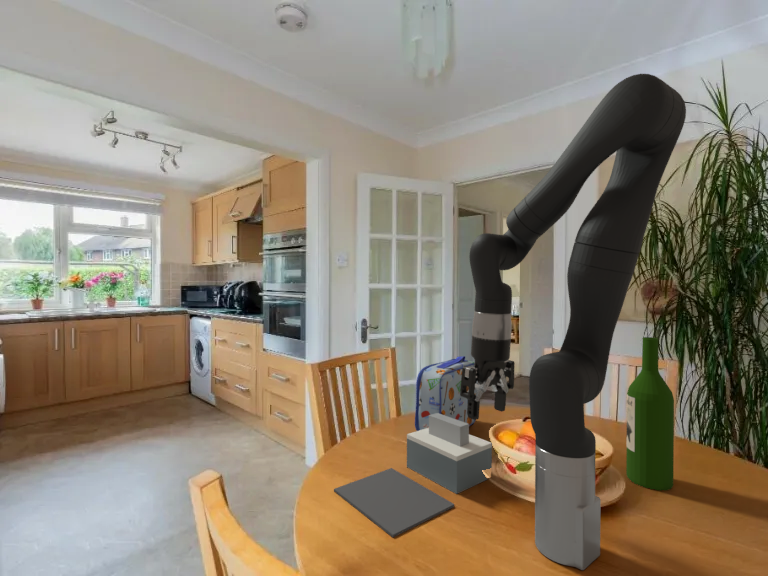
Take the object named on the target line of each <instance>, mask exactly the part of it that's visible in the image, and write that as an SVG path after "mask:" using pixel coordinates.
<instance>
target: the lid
mask: <svg viewBox="0 0 768 576" xmlns="http://www.w3.org/2000/svg"><path fill="white" fill-rule="evenodd" d="M407 439H409V440H412V441H414V442H416V443H418V444H420V445H423V446H425V447H427V448H429V449H431V450H433V451H436V452H438V453H440V454H442V455H444V456H446V457H449V458H451V459H453V460H455V461H459V460H461V459H464V458H466V457H469V456H471V455H473V454H476V453H478V452H481V451H483V450H486V449H488V448H491V447H492V448H493V444H492V442H490V441H488V440H486V439H483V438H480V437H477V436H475V435H472V434H470V426H469V424H468V423H465V422H462V421H459V420H456V419H453V418H451V417H448V416H445V415H442V414H439V413H435V414H432V415H429V428H426V429H422V430H419V431H413V432H409V433H406V440H407Z"/></svg>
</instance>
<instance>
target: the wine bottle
mask: <svg viewBox="0 0 768 576" xmlns="http://www.w3.org/2000/svg"><path fill="white" fill-rule="evenodd" d="M674 428H675V398H674V394H673V392H672V389H671V388H670V387H669V385H668V384H667V383H666V381H665V380H664V378H663V376H662V375H661V373H660V371H659V338H657V337H653V336H652V337H650V336H645V337H642V357H641V370H640V372H639V373H638V375H637V376H636V377H635V379H634V380H633V381H632V382H631V383H630V385H628V388H627V392H626V440H625V441H626V444H625V445H626V458H625V459H626V462H625V463H626V467H625V469H626V474H625V475H626V477H627V479H628V478H629V479H630V480H631V481H632V482H631V481H630V480H629V479H628V480H629V481H630V482H631V483H633V482H634V483H633V484H634V485H637V484H638V485H637V486H639V485H640V486H639V487H641V486H643V487H642V488H644V487H645V489H648V488H650V490H652V489H655V490H654V491H662V490H664V491H669V490H672V489H673V487H674V465H675V464H674V459H675V458H674V453H675V452H674V451H675V448H674V446H675V443H674V442H675V441H674V440H675V439H674V438H675V437H674V436H675V433H674V432H675V429H674Z"/></svg>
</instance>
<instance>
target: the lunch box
mask: <svg viewBox="0 0 768 576" xmlns="http://www.w3.org/2000/svg"><path fill="white" fill-rule="evenodd" d="M474 363H475V361H470V360H467V359H466V356H464V355H463V356H461V355H460V356H457V357H456V358H452V359H449V360H446V361H441V362H436V363H433V364H429V365H426V366H424V367H422V368H421V369H420V371H418V374H417V376H416V383H415V386H416V389H415V414H414V428H415V430H416V431H419V430H422V429H426V428H429V415H432V414H435V413H439V414H442V415H445V416H448V417H451V418H453V419H456V420H459V421H462V422H465V423H468V424H469V427H470V426H472V425H474V424H475V422H476V420H473V419H471V418H469V417H468V415H467V405H468V400H467V398H464V397H462V396H460V389H461V378H462V368H463V367H464V366H467V367H473V366H474ZM476 384H478V385H480V384H479V383H478V381H477V382H476ZM468 390H469V387H468V386H467V387H466V391H467V392H468ZM476 392H477V390H475V391H474V394H476ZM416 431H415V432H416Z"/></svg>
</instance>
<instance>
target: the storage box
mask: <svg viewBox="0 0 768 576" xmlns="http://www.w3.org/2000/svg"><path fill="white" fill-rule="evenodd" d="M492 449H493V446H492V447H491V448H488V449H486V450H483V451H481V452H478V453H476V454H473V455H471V456H469V457H466V458H464V459H461V460H459V461H455V460H453V459H451V458H449V457H446V456H444V455H442V454H440V453H438V452H436V451H433V450H431V449H429V448H427V447H425V446H423V445H420V444H418V443H416V442H414V441H412V440H409V439H407V438H406V468H408V469H410V470H412V471H414V472H416V473H417V474H419V475H421V476H422V477H425V478H427V479H428V480H430V481H432V482H434V483H436V484H437V485H439V486H442V487H443V488H445V489H446V490H448V491H449V492H452V493H454V494H455V495H457V494H460V493H463V491H467V490H468V489H470V488H472V487H475V486H477V485H478V484H480V483H482V482H485V481H487V480H488V479H487V478H486V477H485V475H484V474H483V472H482V470H486V469H490V468H493V466H492V465H493V464H492V463H493V460H492V458H493V457H492V456H493V455H492V454H493V453H492V452H493V450H492Z"/></svg>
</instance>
